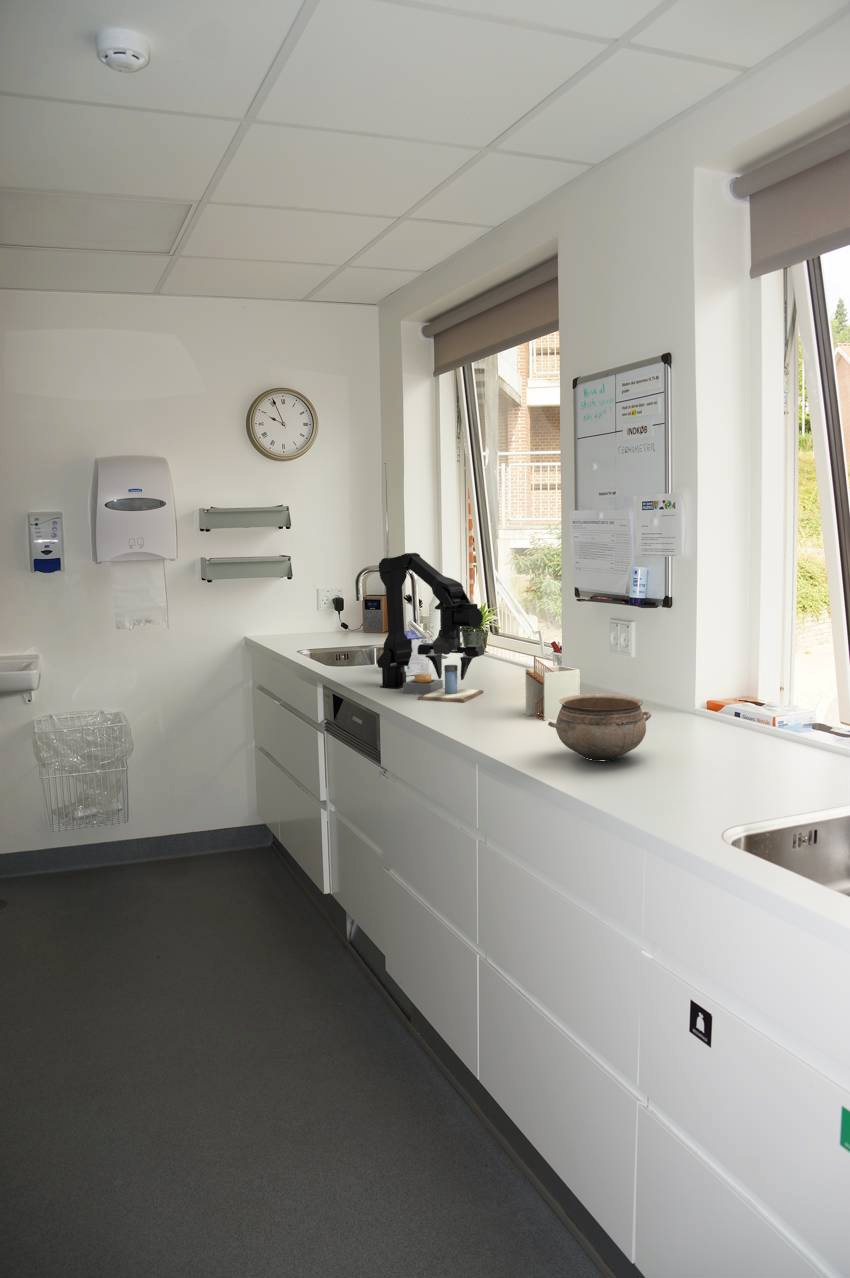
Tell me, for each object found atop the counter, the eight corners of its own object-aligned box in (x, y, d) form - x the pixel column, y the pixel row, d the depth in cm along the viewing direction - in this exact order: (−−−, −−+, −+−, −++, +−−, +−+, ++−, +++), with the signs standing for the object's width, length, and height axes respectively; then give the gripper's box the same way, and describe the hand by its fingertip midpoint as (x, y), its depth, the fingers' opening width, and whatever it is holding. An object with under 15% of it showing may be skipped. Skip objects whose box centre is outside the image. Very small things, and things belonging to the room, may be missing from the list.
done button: (412, 682, 293) (411, 675, 292) (418, 679, 297) (418, 673, 297) (427, 683, 291) (427, 676, 290) (433, 680, 295) (433, 674, 295)
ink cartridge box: (423, 672, 332) (422, 629, 330) (430, 674, 327) (429, 631, 325) (396, 674, 327) (395, 631, 326) (402, 676, 322) (401, 632, 321)
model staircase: (525, 716, 257) (524, 653, 255) (559, 712, 262) (559, 650, 260) (544, 722, 249) (544, 657, 247) (579, 717, 254) (579, 654, 252)
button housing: (403, 693, 292) (403, 683, 292) (415, 688, 300) (415, 678, 300) (431, 694, 288) (431, 684, 288) (442, 689, 297) (442, 679, 296)
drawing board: (418, 699, 281) (418, 696, 281) (439, 690, 295) (439, 687, 295) (464, 702, 275) (464, 699, 275) (483, 692, 290) (483, 689, 290)
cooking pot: (573, 774, 197) (573, 714, 195) (527, 754, 214) (527, 699, 213) (676, 761, 206) (677, 703, 205) (624, 742, 224) (625, 689, 222)
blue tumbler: (442, 693, 284) (442, 666, 283) (447, 691, 288) (447, 664, 287) (454, 694, 283) (454, 666, 282) (459, 692, 286) (459, 664, 285)
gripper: (409, 627, 279) (410, 682, 281) (471, 629, 272) (471, 685, 274) (424, 623, 289) (425, 676, 291) (484, 625, 282) (485, 679, 284)
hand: (451, 679), depth 285 cm, fingers open, 7 cm apart
